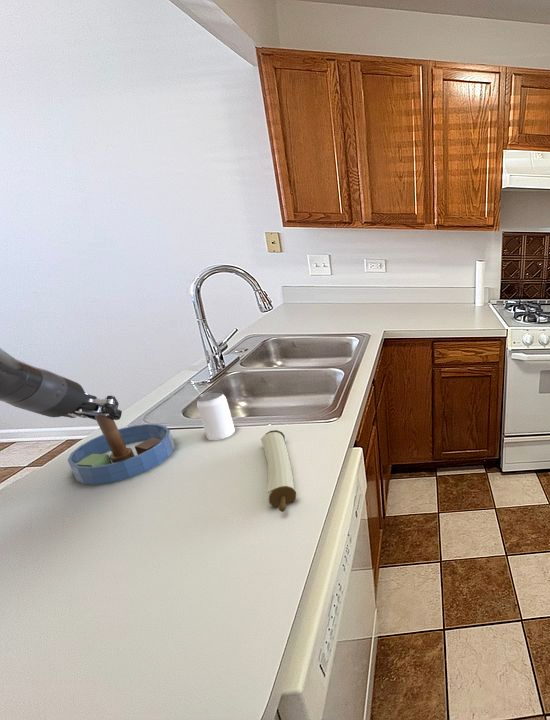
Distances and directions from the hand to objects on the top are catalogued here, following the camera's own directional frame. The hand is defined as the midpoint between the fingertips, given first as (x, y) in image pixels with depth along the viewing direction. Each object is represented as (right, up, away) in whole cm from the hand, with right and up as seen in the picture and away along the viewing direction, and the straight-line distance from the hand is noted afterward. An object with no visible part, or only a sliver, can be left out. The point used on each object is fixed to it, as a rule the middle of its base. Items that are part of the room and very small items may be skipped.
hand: (110, 416), depth 90 cm
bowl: (-1, -12, +6) cm, 13 cm away
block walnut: (+5, -11, +6) cm, 13 cm away
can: (+15, -8, +16) cm, 23 cm away
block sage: (-3, -13, 0) cm, 14 cm away
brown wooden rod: (0, -11, +3) cm, 11 cm away
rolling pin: (+38, -14, +1) cm, 40 cm away
